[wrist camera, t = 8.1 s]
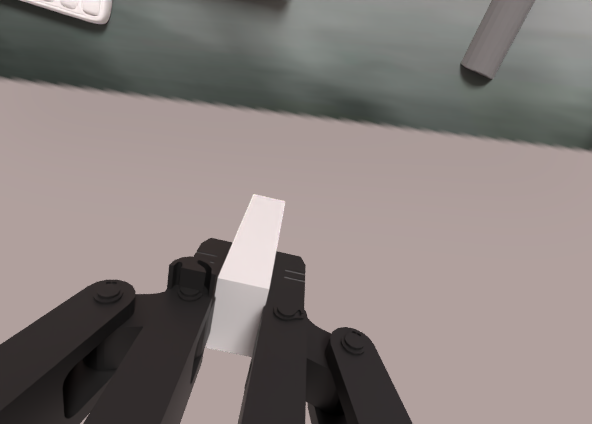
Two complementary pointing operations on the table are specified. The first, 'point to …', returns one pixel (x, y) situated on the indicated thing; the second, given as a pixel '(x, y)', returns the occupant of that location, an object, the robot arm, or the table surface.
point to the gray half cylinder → (495, 35)
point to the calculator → (79, 8)
